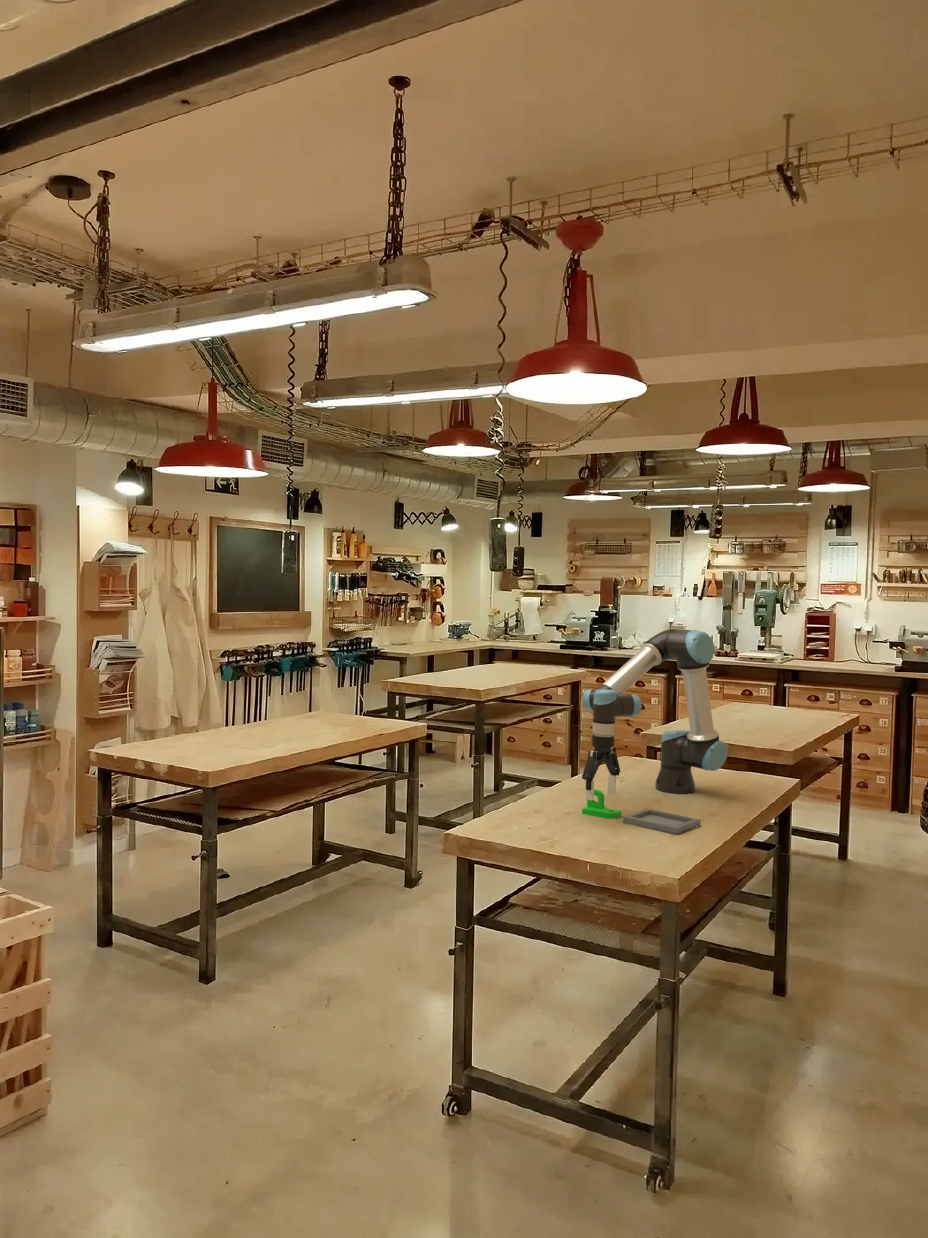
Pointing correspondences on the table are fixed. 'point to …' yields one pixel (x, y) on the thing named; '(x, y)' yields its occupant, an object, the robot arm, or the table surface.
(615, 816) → the mechanical part
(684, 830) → the locating tray
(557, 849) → the table surface
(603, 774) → the table surface
